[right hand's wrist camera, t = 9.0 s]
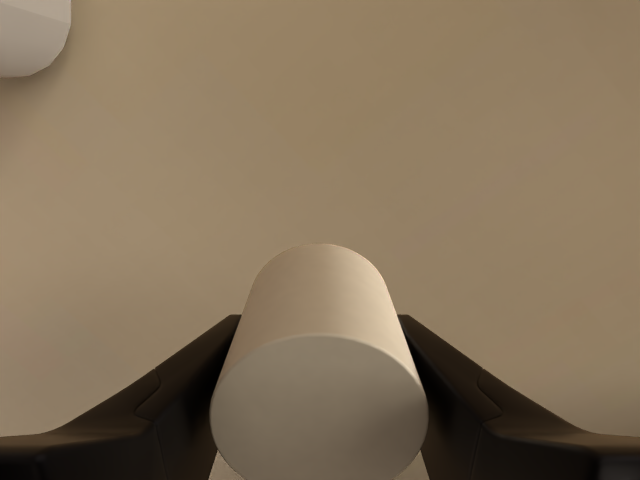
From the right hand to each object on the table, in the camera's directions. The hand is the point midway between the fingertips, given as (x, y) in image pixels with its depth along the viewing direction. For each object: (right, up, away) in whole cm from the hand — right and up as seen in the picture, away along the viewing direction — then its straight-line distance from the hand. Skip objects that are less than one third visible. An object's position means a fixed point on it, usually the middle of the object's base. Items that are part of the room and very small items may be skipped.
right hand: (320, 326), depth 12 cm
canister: (0, 0, +1) cm, 1 cm away
